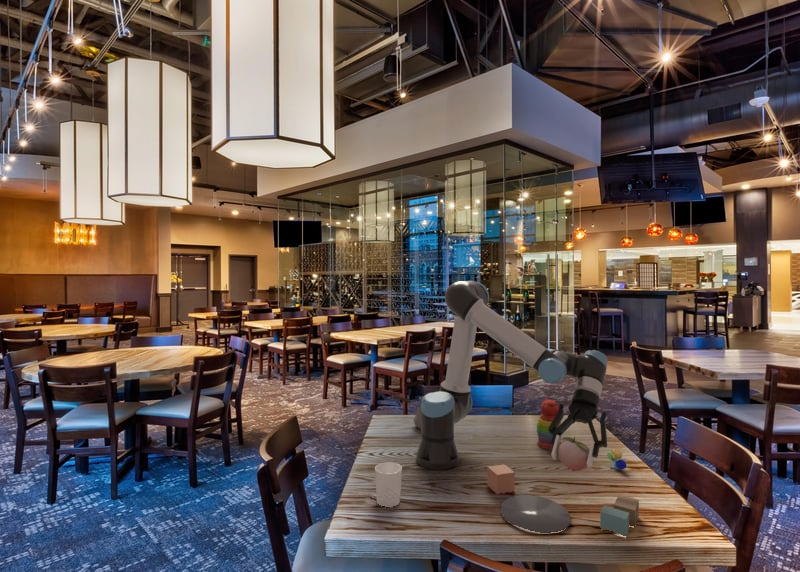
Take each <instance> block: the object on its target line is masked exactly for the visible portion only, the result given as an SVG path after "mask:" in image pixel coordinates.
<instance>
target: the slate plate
mask: <svg viewBox="0 0 800 572" xmlns="http://www.w3.org/2000/svg"><path fill="white" fill-rule="evenodd" d="M500 506H501V507H500V513H502V514H501V517H502V516H503V517H504V518H505V519H506V520H507V521H509V522H510V523H512V524H514V525H517V526H519V527H522V528H524V529H528V530H530V531H535V532H540V533H551V532H558V531H561V530H564V529H565V528H567V527H568V526H569V527H570V525H571V515H570V513H569V512H568V510H567V509H566V508H565V507H564V506H562V505H561V504H559V503H558V502H556V501H554V500H551V499H549V498H545V497H541V496H538V495H527V494H522V495H515V496H510V497H509V498H507V499H505V500H503V502H502V503H501V505H500ZM503 517H502V518H503ZM504 518H503V519H504ZM505 519H504V520H505ZM569 524H570V525H569ZM569 527H568V528H569ZM568 528H567V529H568Z"/></svg>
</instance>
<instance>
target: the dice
mask: <svg viewBox="0 0 800 572" xmlns="http://www.w3.org/2000/svg"><path fill="white" fill-rule="evenodd" d="M607 458H608V460H610V467H611V468H612V469H614V470H625V469H627V462H626V461H625V460H624V459H622V458H623V453H622V450H620V449H617V448H614V449H613V450H609V451H608V452H607Z"/></svg>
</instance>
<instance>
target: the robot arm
mask: <svg viewBox="0 0 800 572" xmlns="http://www.w3.org/2000/svg"><path fill="white" fill-rule="evenodd" d="M444 300H445V305H446V307H447V308H448V309H449V310H450V312H451V316H452V317H453V319H454V323H453V327H452V329H453V330H452V334H451V343H450V347H449V348H450V349H449V354H448V360H447V368H446V374H445V375H446V376H445V379H444V380H443V381H442V382H441V383H440V385H439V386H440V387H439V391H434V392H428V393H426V394H424V397H423V396H422V397H423V398H422V404H421V403H420V404H421V429H420V431H421V433H420V434H421V437H420V442H419V445H418V447H417V451H416V456H415V457H416V459H415V461H416V463H417V465H419V466H421V467H422V468H426V469H428V470H438V471H439V470H449V469H453V468H455V467H457V466H458V465H459V464H460V456H459V452H458V449H457V445H456V442H455V424H457V423H458V422H460V421H461V420H463V419H464V418H466V417H467V415H469V413H470V412H471V410H472V408H473V398H472V396H471V392H472V391H471V390H472V388H471V387H470V385H469V379H470V371H471V366H472V361H473V360H472V358H473V353H474V347H475V342H476V341H475V340H476V336H477V335H476V334H477V328H478V329H480V330H481V332H484V333H485V334H486V335H488V336H489V337H490V338H492V339H493V340H494V341H496V342H497V343H499V344H500V345H501V346H502V347H504V348H505V349H506V350H508V351H510V353H512V354H514V355H515V356H516V357H517V358H519V359H520V360H521V361H523V362H524V363H526V364H527V365H528V366H529V367H531V368H532V369H533V370H535V371H536V372H537V373H538V375H539V377H540V379H541V380H543V382H546V383H548V384H557V383H559V382H561V381H562V380H563V379H565V378H566V376H569V377H573V378H577V381H576V384H575V387H574V392H573V395H572V400H571V404H569V405H568V406H565V405H563V404H559V405H558V406H559V411H558V413H557V414H556V416H555V418H554V419H553V421H552V423H551V424H550V426H549V428H548V431H549V433H550V435H553V437H552V441H551V445H552V447H553V450H551V453H550V454H551V457H552V460H556V459H557V457H558V447H559V445H560V442H561V443H562V435H563V434H564V433H565V432H566V431H567V430H568V429H569V428H570V427H571V426H572V425H573V424H575V423H582V424H585V425H588V427H589V430H590V434H591V436H592V439H593V441H594V442H591V443H590V445H589V446H590V447H589V455H588V459H587V467H586V468H587V469H588V470H592V466H593V461H594V458H596V459H597V458H598V457H599V451H600V449H601V448H608V437H607V436H608V435H607V434H608V433H607V425H606V424H607V421H608V419H609V418H608V416H607V415H608V414H607V413H606V412H605V411H604V412H598V409H599V404H600V398H601V395H602V390H603V385H604V382H605V378H606V375H607V367H608V362H609V361H608V358H607V356H606V355H605V354H604V353H603V352H601V351H599V350H595V349H593V350H590V349H589V350H586V351H585V352H584V354H583V355H582V354H576V353H572V352H567V351H562V350H559V349H554V348H546V347H545V346H544V345H542V343H539V342H538V341H537V340H535V339H533V338H532V337H531V336H530V335H528V334H526V332H524V331H522V329H520V328H519V327H516V326H515V325H514V324H512V323H511V322H510V321H509V320H507V319H506V318H504V317H503V316H502V315H500V314H498V313H497V312H496V311H495V310H494V309H491V308H490V307H489V306H488V305H489V301H490V293H489V290H488V289H487V287H486V286H485V285H484V284H482V282H481V283H480V282H478V281H475V280H465V281H462V280H459V281H455V282H453V283H452V284H450V285H449V286H448V288H447V289H446V291H445V294H444ZM568 412H569V414H568V415H567V417H566V418H565V420H563V418H564V417H565V414H567V413H568ZM596 418H598V420H599V425H600V438H601V439H600V440H599V438H598V435H597V433H596V429H595V426H594V424H593V421H594V420H595V419H596ZM562 420H563V421H562ZM560 422H562V423H561V425H560V426H559V427H558V425H559V424H560ZM557 427H558V428H557ZM560 436H561V438H560Z"/></svg>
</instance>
